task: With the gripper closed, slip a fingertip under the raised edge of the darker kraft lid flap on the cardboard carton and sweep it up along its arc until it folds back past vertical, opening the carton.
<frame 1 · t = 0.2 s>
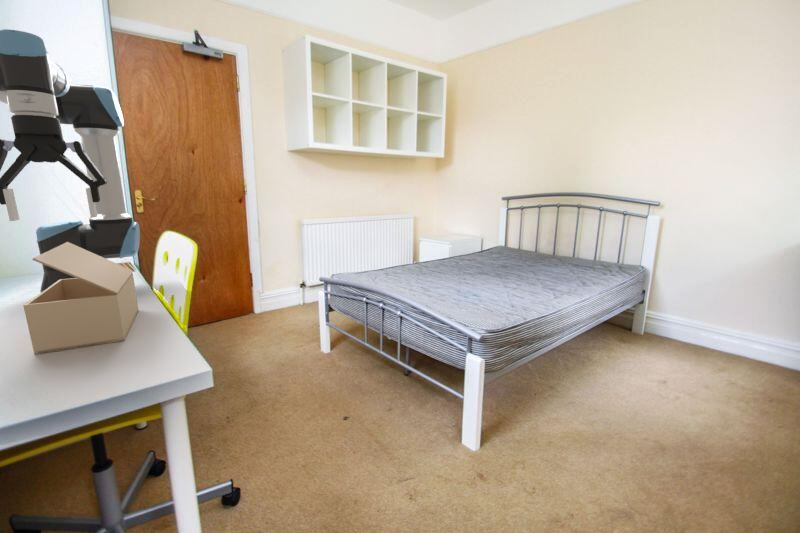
hand: (55, 218, 86), 28 cm above the table, fingers open, 13 cm apart
carton lid: (90, 266, 95), point 16 cm above the table, hinge at 35.0°
carton: (94, 329, 98), on the table
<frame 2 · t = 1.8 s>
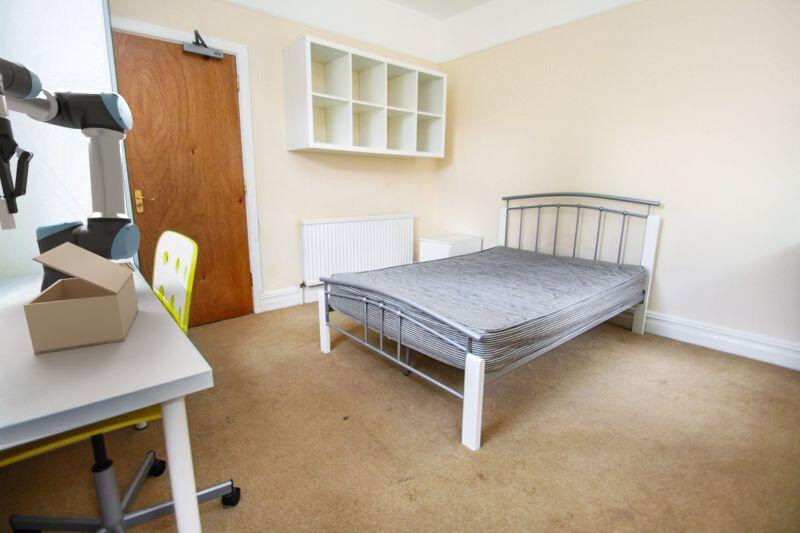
hand: (9, 228, 87), 26 cm above the table, fingers closed
nothing on the table moved.
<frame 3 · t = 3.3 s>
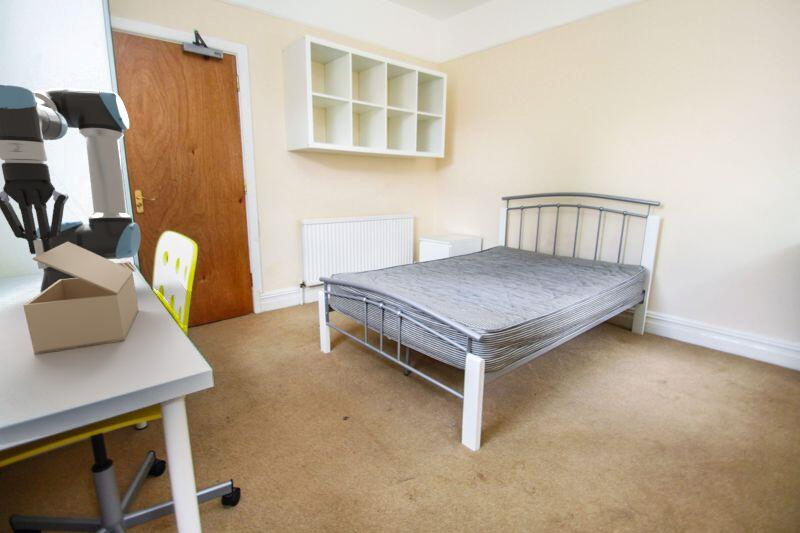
hand: (44, 267, 91), 17 cm above the table, fingers closed
carton lid: (90, 266, 95), point 16 cm above the table, hinge at 35.3°, touching gripper
everything else where it was.
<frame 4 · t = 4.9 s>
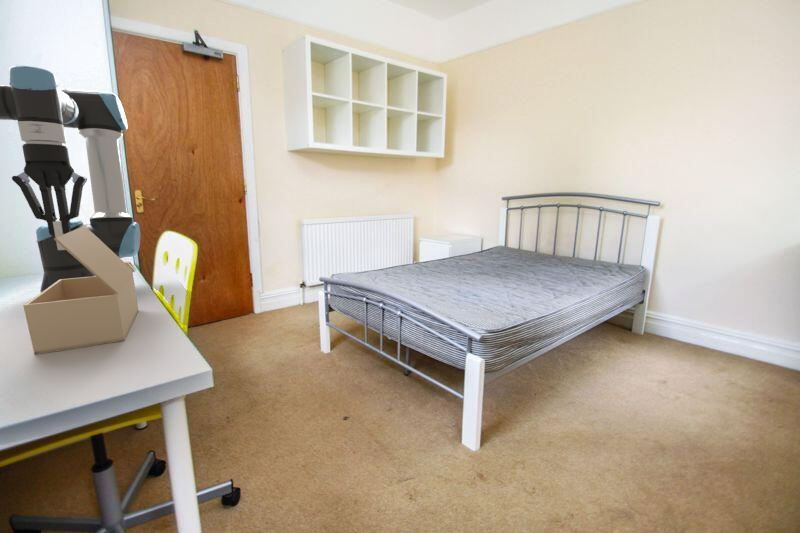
hand: (63, 249, 92), 21 cm above the table, fingers closed
carton lid: (99, 257, 95), point 18 cm above the table, hinge at 55.6°, touching gripper
everything else where it was.
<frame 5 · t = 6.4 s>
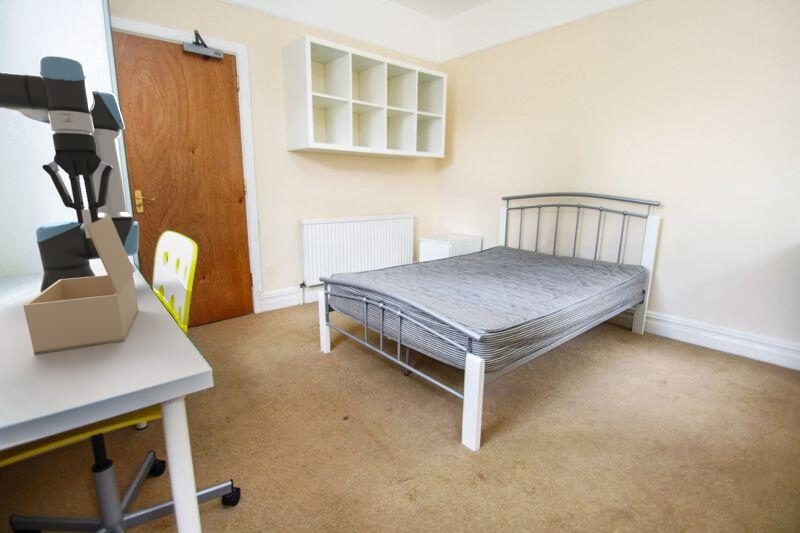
hand: (91, 237, 94), 23 cm above the table, fingers closed
carton lid: (113, 251, 96), point 19 cm above the table, hinge at 77.9°, touching gripper
everything else where it was.
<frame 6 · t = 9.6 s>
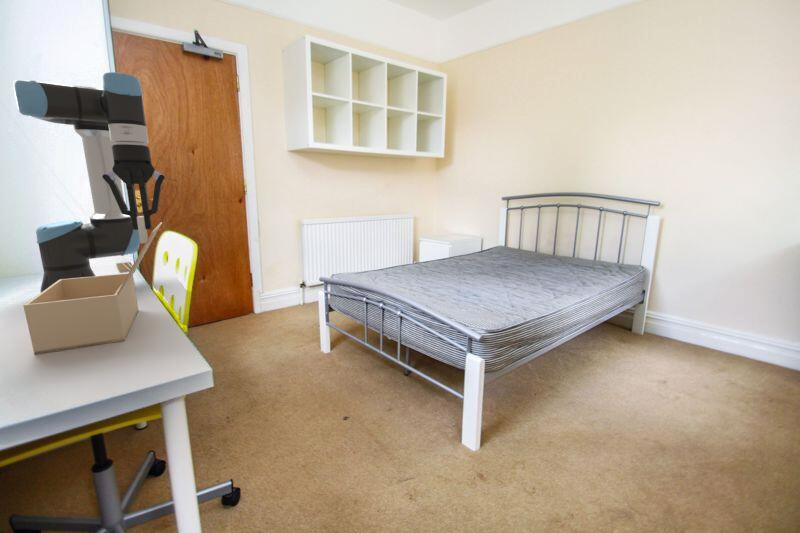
hand: (144, 242, 99), 21 cm above the table, fingers closed
carton lid: (142, 254, 99), point 18 cm above the table, hinge at 121.9°, touching gripper
everything else where it was.
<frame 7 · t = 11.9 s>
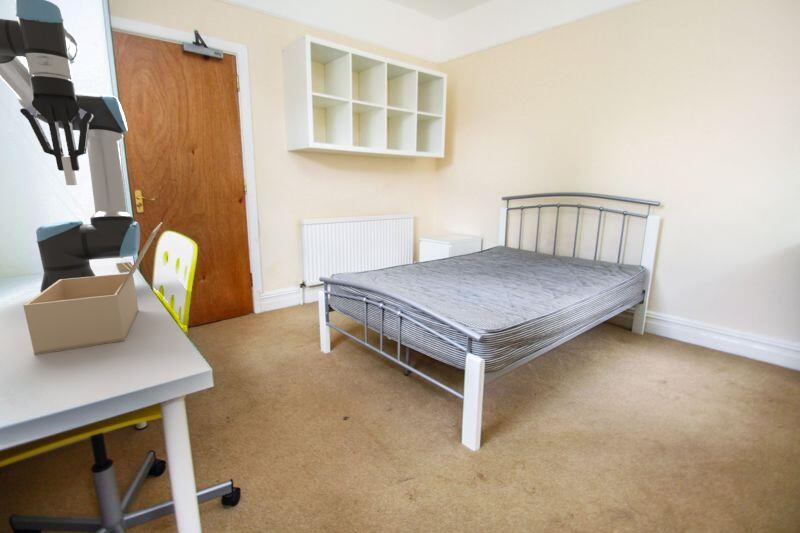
hand: (71, 185, 94), 35 cm above the table, fingers closed
carton lid: (142, 254, 99), point 18 cm above the table, hinge at 122.0°
everything else where it was.
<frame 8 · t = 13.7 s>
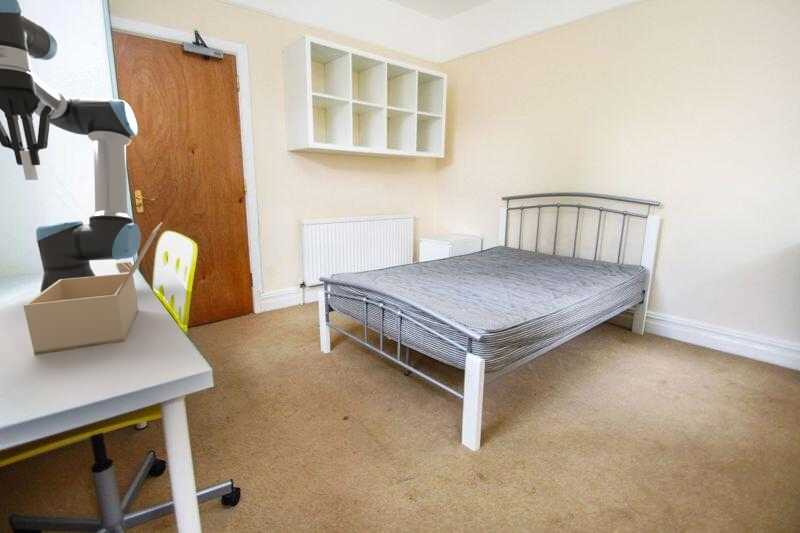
hand: (31, 179, 92), 36 cm above the table, fingers closed
nothing on the table moved.
at the end: carton lid at +122° (first picture: +35°) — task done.
